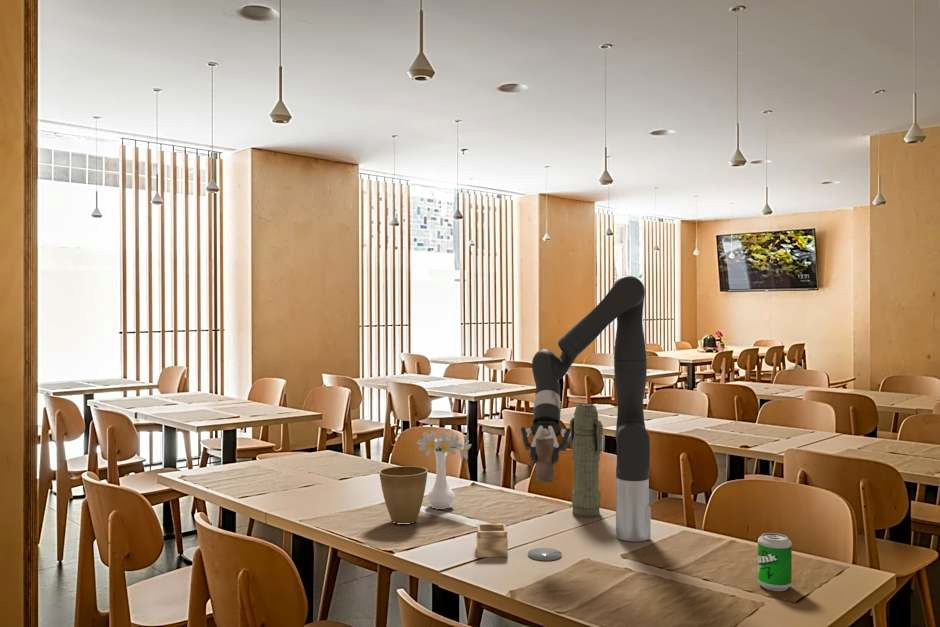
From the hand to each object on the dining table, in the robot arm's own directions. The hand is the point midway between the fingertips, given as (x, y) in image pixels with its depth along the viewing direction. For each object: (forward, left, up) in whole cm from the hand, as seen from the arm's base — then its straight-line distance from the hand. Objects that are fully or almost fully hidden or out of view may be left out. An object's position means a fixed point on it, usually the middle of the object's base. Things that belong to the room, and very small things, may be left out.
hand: (544, 461), depth 209 cm
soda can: (-52, +23, -26) cm, 62 cm away
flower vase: (+28, -52, -26) cm, 65 cm away
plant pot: (+40, -35, -26) cm, 59 cm away
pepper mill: (0, -2, -5) cm, 6 cm away
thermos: (-18, -43, -26) cm, 54 cm away
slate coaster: (0, -2, -26) cm, 26 cm away
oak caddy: (+14, -5, -26) cm, 29 cm away
